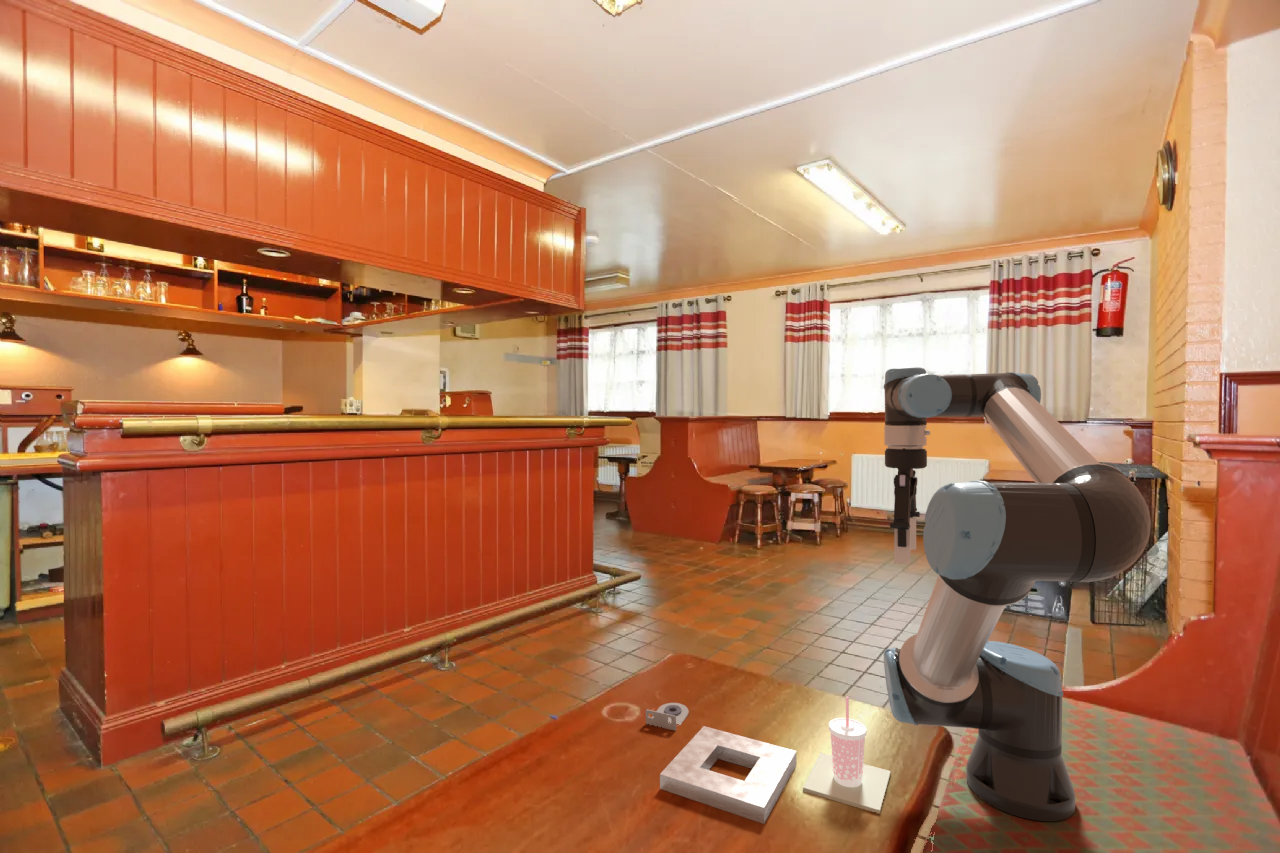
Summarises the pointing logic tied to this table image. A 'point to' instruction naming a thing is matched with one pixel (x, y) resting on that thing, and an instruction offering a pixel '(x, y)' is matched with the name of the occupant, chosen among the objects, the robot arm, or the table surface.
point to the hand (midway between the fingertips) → (905, 556)
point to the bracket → (667, 715)
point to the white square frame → (726, 792)
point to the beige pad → (861, 796)
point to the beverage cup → (847, 749)
